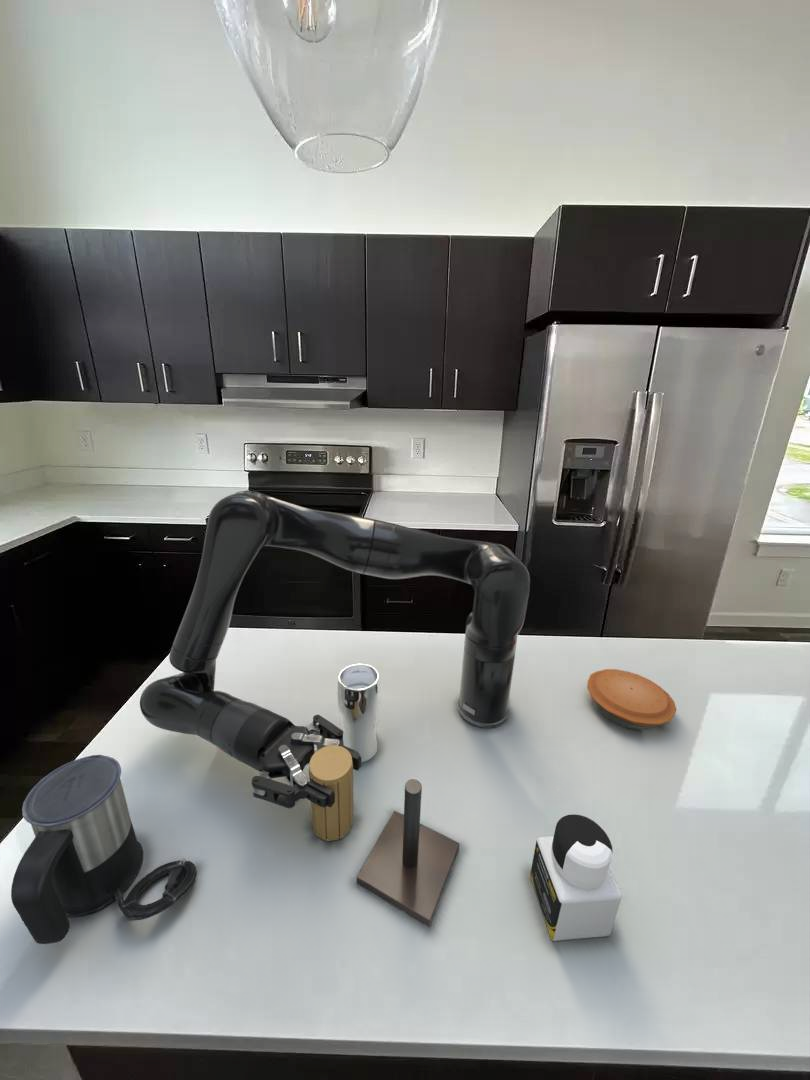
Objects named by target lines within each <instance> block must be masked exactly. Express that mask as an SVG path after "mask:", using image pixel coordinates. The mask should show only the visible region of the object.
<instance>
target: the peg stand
mask: <svg viewBox="0 0 810 1080" xmlns="http://www.w3.org/2000/svg"><path fill="white" fill-rule="evenodd" d="M422 789H423V786H422V783H421V782H420V781H419V780H418V779H415V778H411V779H409V780H407V781H406V782H405V784H404V800H403V801H404V805H403V814H402V813H400V812H398V811H396V810H393V812H392V814H391V816H390V818H389V819H388V821H387V823H386V824H385V826H384V828H383V830H382V831H381V833H380V835H379V836H378V838H377V840H376V842H375V844H374V845H373V847H372V849H371V851H370V853H369V854H368V856H367V858H366V860H365V862H364V863H363V865H362V866H361V869H360V870H359V872H358V874H357V875H356V884H357V885H359V886H360V887H362V888H364V889H365V890H367V891H368V892H370V893H372V894H374V895H375V896H377V897H379V898H380V899H382V900H384V901H385V902H387V903H389V904H390V905H392V906H394V907H395V908H397V909H398V910H400V911H402V912H403V913H405V914H407V915H409V916H410V917H412V918H413V919H415V920H416V921H418V922H420V923H422V924H423V925H425V926H426V927H428V928H430V927H431V924H432V922H433V919H434V917H435V914H436V911H437V910H438V907H439V903H440V900H441V898H442V896H443V894H444V890H445V888H446V885H447V883H448V880H449V877H450V874H451V872H452V869H453V867H454V865H455V861H456V859H457V856H458V854H459V851H460V843H459V842H458V841H456V840H454V839H452V838H450V837H448V836H446V835H444V834H442V833H440V832H439V831H436V830H435V829H432V828H430V827H428V826H426V825H424V824H422V823H421V808H422V807H421V806H422Z"/></svg>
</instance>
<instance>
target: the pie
mask: <svg viewBox="0 0 810 1080" xmlns="http://www.w3.org/2000/svg"><path fill="white" fill-rule="evenodd" d="M586 688H587V691H588V693H589V695H590V697H591V698H592V699H593V701H594V702H595V704H596V706H597V708H598V710H599V711H600V712H601V714H602V715H604V716H605V717H606V718H607V719H609V720H610V721H612V722H613V723H616V724H617V725H619V726H622V727H624V728H627V729H630V730H636V731H649V730H651V729H654V728H656V727H659V726H661V725H664V724H667V723H670V722H671V720H672V719H673V718H674V717H675V715H676V713H677V706H676V702H675V701H674V699H673V698H672V696H671V695H670V694H669V693H668V692H667V691H666V690H665V689H663V687H661V686H660V685H659V684H657V683H655V682H654V681H652V680H651V679H649V678H647V677H644V676H642V675H641V674H638V673H634V672H632V671H629V670H628V671H627V670H622V669H617V668H609V669H608V668H606V669H601V670H596V671H595V672H592V673H591V674H590V675H589V677H588V680H587V686H586Z"/></svg>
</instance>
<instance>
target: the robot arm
mask: <svg viewBox="0 0 810 1080" xmlns="http://www.w3.org/2000/svg"><path fill="white" fill-rule="evenodd" d="M206 524H207V525H206V529H205V537H204V542H203V547H202V554H201V559H200V563H199V567H198V572H197V577H196V579H195V582H194V585H193V589H192V592H191V595H190V597H189V600H188V603H187V605H186V608H185V610H184V613H183V616H182V618H181V621H180V623H179V627H178V629H177V631H176V635H175V637H174V639H173V642H172V646H171V648H170V651H169V663H170V664H171V666H172V667H173V668H174V669H175V670H177V671H180V672H181V673H178V674H173V675H171V676H167V677H163V678H159V679H157V680H154V681H153V682H151V683H150V684H148V685H147V686H145V688H144V690H143V691H142V693H141V696H140V699H139V708H140V712H141V714H142V716H143V717H144V719H145V720H146V721H147V722H148V723H150V724H151V725H153V726H154V727H156V728H159V729H161V730H164V731H168V732H169V731H170V732H175V733H178V734H179V733H180V734H184V735H193V736H198V737H199V738H200V739H202V740H204V741H206V742H208V743H210V744H211V745H213V746H216V747H217V748H218V749H219V750H220V751H222V752H223V753H224V754H226V755H227V756H229V757H230V758H233V759H235V760H236V761H239V762H240V763H243V764H244V765H246V766H248V767H249V768H251V769H254V770H256V771H257V772H259V773H260V774H259V775H255V776H253V777H252V778H251V789H252V796H253V797H254V798H256V799H260V800H262V801H265V802H268V803H271V804H274V805H278V806H280V807H283V808H286V809H292V808H294V807H295V806H296V803H297V802H298V801H300V800H308V801H309V802H310V803H311V802H313V803H315V804H317V805H318V806H320V807H325V808H326V806H328V807H332V805H333V804H334V803H335V793H334V792H333V791H332V790H331V789H329V788H327V787H325V786H322V785H320V784H318V783H317V782H315V781H313V780H308V778H307V776H306V775H305V773H304V772H303V771H304V770H305V768H306V766H307V765H308V764H310V760H311V758H312V756H313V755H314V753H315V752H316V751H318V750H319V749H321V748H323V747H326V746H330V745H337V746H341V747H343V748H345V749H347V750H348V751H349V753H350V754H351V757H352V762H353V771H356V772H357V771H359V770H360V768H362V762H361V757H360V754H359V753H358V752H357V751H355V750H353V749H351V748H348V747H346V746H344V743H343V737H344V732H343V729H341V728H340V727H338V726H337V725H335V724H334V723H332V722H331V721H329V720H328V719H327V718H325V717H323V716H322V715H320V714H315V715H313V716H312V721H311V722H310V723H309V724H307V725H306V726H303V725H296V724H294V723H293V722H292V721H291V720H290V719H289V718H288V717H286V716H285V717H284V716H282V715H281V714H278V713H276V712H274V711H272V710H269V709H267V708H266V707H263V706H261V705H258V704H257V703H253V702H250V701H246V700H243V699H241V698H238V697H236V696H234V695H232V694H230V693H228V692H225V691H221V690H215V683H216V672H217V671H216V670H217V659H218V657H219V654H220V651H221V650H222V646H223V643H224V641H225V639H226V636H227V633H228V630H229V627H230V624H231V621H232V617H233V611H234V608H235V607H234V606H235V604H236V603H235V602H236V599H237V595H238V592H239V589H240V587H241V584H242V582H243V580H244V578H245V576H246V573H247V572H248V571H249V569H250V567H251V565H252V564H253V562H254V560H255V559H256V558H257V555H258V554H259V553H260V551H261V549H262V548H264V547H274V548H282V549H287V550H288V549H289V550H295V551H299V552H303V553H307V554H310V555H313V556H314V557H317V558H319V559H321V560H324V561H325V562H327V563H330V564H332V565H334V566H336V567H339V568H341V569H344V570H346V571H350V572H352V573H357V574H360V575H365V576H370V577H375V578H380V579H385V580H386V579H387V580H405V579H412V578H419V577H420V578H421V577H427V576H436V577H443V578H448V579H452V580H455V581H460V582H463V583H466V584H469V585H471V586H472V588H473V590H474V593H473V594H474V596H473V603H472V604H473V605H472V611H471V612H470V613H469V614H468V615H467V617H466V620H465V631H464V643H463V653H462V654H463V655H462V665H461V677H460V689H459V699H458V706H457V709H458V713H459V715H460V717H461V718H463V720H465V721H466V722H467V723H469V724H470V725H473V726H475V727H479V728H485V729H491V728H497V727H499V726H501V725H503V724H504V723H505V722H506V720H507V718H508V713H509V702H510V696H511V695H510V694H511V687H512V680H513V672H514V666H515V659H516V652H517V651H516V650H517V643H518V637H519V632H520V631H521V630H522V628H523V626H524V623H525V619H526V614H527V609H528V603H529V597H530V591H531V590H530V589H531V577H530V573H529V570H528V568H527V567H526V565H525V564H524V562H522V560H521V559H520V558H519V557H518V556H517V555H516V554H515V553H514V552H513V550H512V549H510V548H508V547H507V546H505V545H503V544H500V543H496V542H490V541H489V542H488V541H483V540H481V541H480V540H472V539H461V538H454V537H449V536H444V535H440V534H437V533H432V532H429V531H426V530H422V529H417V528H413V527H408V526H404V525H400V524H397V523H394V522H389V521H384V520H381V519H380V520H379V519H374V518H370V517H364V516H358V515H351V514H346V513H341V512H332V511H324V510H319V509H312V508H308V507H304V506H301V505H298V504H295V503H291V502H288V501H286V500H281V499H279V498H277V497H273V496H270V495H268V494H265V493H261V492H258V491H254V490H241V491H237V492H234V493H231V494H229V495H227V496H224V497H223V498H221V499H220V500H219V501H218V502H217V503H215V504H214V506H213V507H212V508H211V510H210V511H209V515H208V519H207V523H206ZM315 746H316V750H315ZM278 778H284V779H286V781H287V783H288V784H287V783H283V782H281V781H277V780H274V779H278Z"/></svg>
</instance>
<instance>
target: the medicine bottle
mask: <svg viewBox="0 0 810 1080" xmlns="http://www.w3.org/2000/svg"><path fill="white" fill-rule="evenodd" d="M535 841H536V842H535V846H534V852H533V858H532V863H531V867H530V872H529V873H530V875H529V877H530V879H531V882H532V886H533V889H534V892H535V895H536V898H537V901H538V904H539V907H540V911H541V914H542V916H543V918H544V922H545V924H546V928H547V931H548V934H549V937H550V939H551V940H552V941H553V942H559V941H568V940H581V939H589V938H590V939H592V938H602V937H609V936H611V935H612V930H613V927H614V925H615V921H616V917H617V914H618V912H619V908H620V904H621V901H622V898H623V895H622V892H621V891H620V888H619V887H618V885H617V883H616V880H615V878H614V876H613V875H612V872H611V870H610V866H611V862H612V859H613V844H612V842H611V840H610V837H609V835H608V834H607V833H606V831H605V830H604V829H603V828H602V827H601V826H600V825H599V824H598V823H596V821H594V820H592V819H591V818H589V817H587V816H585V815H582V814H574V813H572V814H567V815H564V816H562V817H560V818H559V819H558V821H557V823H556V825H555V829H554V833H553V835H551V836H549V835H548V836H540V837H536V840H535Z"/></svg>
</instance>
